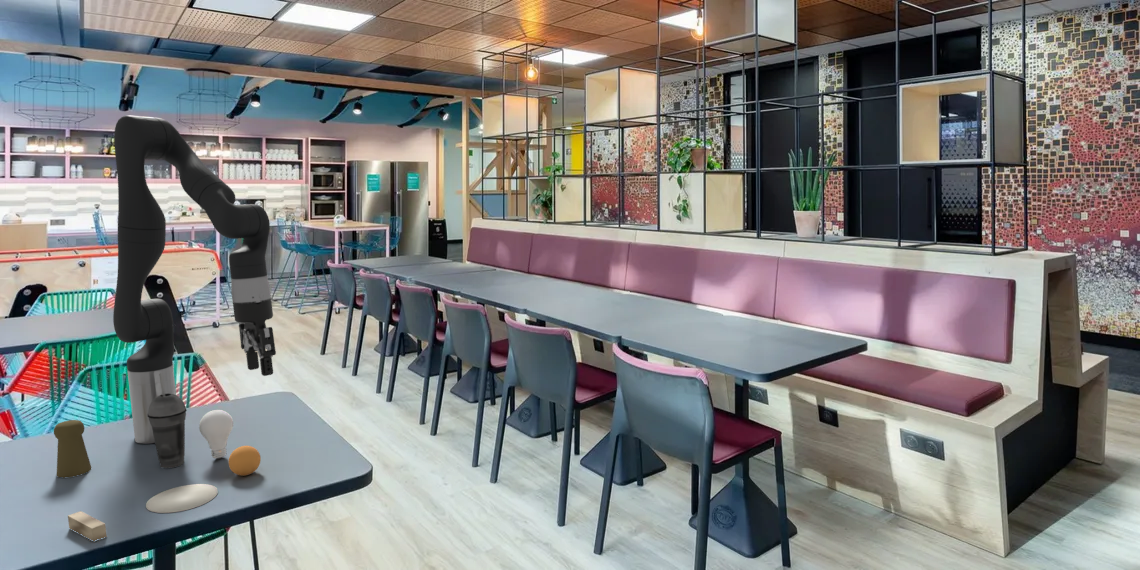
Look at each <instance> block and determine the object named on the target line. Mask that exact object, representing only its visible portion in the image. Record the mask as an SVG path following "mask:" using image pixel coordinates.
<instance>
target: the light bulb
mask: <svg viewBox="0 0 1140 570" xmlns="http://www.w3.org/2000/svg"><path fill="white" fill-rule="evenodd" d="M198 426H199V427H198V429H199V432H200V434H201V435H202V437H203V438H204V439H205V440H206V442H207V443H208V446H209V447H208V448H209V449H210V450H211V451H210V452H211V458H213V459H215V460H220V459H223V458H224V457H225V456H226V455H227V449H226V448H227V446H228V439H229V436H230V434H231V433H232V431H233V428H234V420H233V417H232V415H231V414H229V412H227V411H225V410H222V409H213V410H210V411H208V412H206V413H205V414H204V415H203V416H202V417H201V418H200V421H199V424H198Z"/></svg>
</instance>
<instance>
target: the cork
mask: <svg viewBox="0 0 1140 570" xmlns="http://www.w3.org/2000/svg"><path fill="white" fill-rule="evenodd" d="M84 432H85V424H84V423H83V422H82V421H81V420H78V419H70V420H65V421H62V422H59V423H57V424H55V426H54V428H53V435H54V436H55V438H56V440H57V456H56V457H57V458H56V476H58V477H57V478H59V477H63V478H62V479H66V478H65V477H69V478H74V477H73V476H75V477H78V476H77V475H79V476H82V475H84V473H85V474H87V473H89V472H90V471H91V470H92V469H91V468H92V466H91V465H92V464H91V461H90V457H89V454H88V451H87V449H86V448H87V447H86V445H85V441H84V437H83V433H84ZM86 472H87V473H86ZM81 474H82V475H81Z"/></svg>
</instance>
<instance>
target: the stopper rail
mask: <svg viewBox="0 0 1140 570" xmlns="http://www.w3.org/2000/svg"><path fill="white" fill-rule="evenodd" d="M67 519H68V520H67V521H68V529H69V528H70V529H72V530H74V531H76V532H78V533H79V534H82V535H83V536H85V537H87V538H89V539H91V540H93V541H95V540H97V539H101V538H104V537H107V538H108V536H107V526H106V523H105V522H103V521H101V520H99V519H97V518H95V517H93V516H91V515H90V514H87V513H86V512H84V511H81V510H80V511H76V512H74V513H71V514H68V515H67ZM70 529H69V530H70ZM72 530H71V531H72ZM74 531H73V532H74ZM76 532H75V533H76ZM79 534H78V535H79ZM83 536H82V537H83ZM85 537H84V538H85ZM104 539H105V538H104Z"/></svg>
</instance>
